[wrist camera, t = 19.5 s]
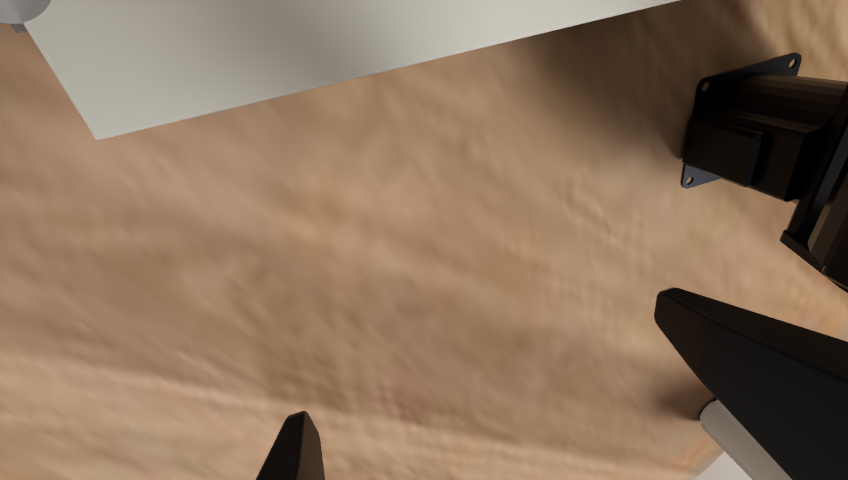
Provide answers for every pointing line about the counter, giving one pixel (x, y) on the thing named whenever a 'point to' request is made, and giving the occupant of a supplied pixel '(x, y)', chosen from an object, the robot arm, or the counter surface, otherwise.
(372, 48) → the duct lid
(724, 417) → the photo printer
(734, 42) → the counter surface
